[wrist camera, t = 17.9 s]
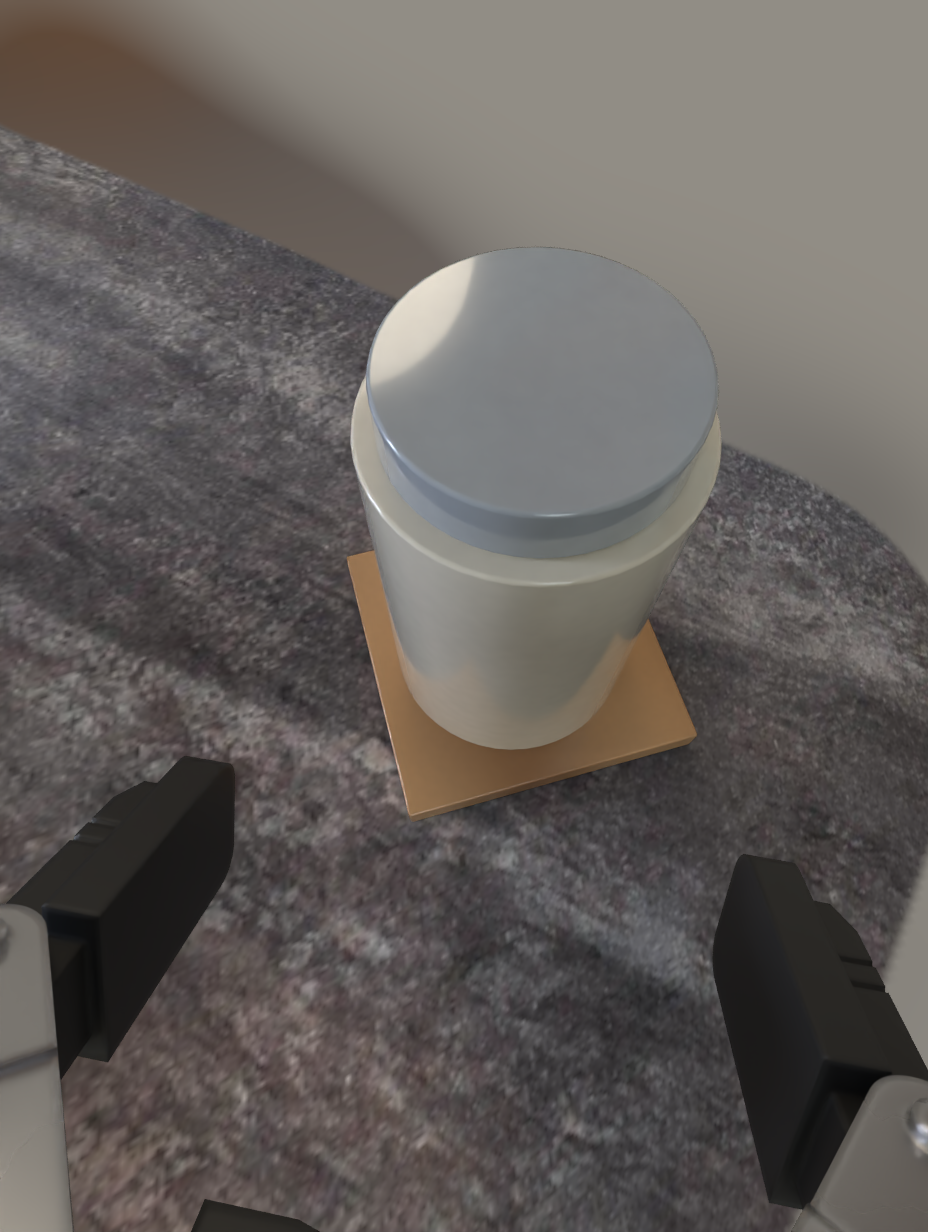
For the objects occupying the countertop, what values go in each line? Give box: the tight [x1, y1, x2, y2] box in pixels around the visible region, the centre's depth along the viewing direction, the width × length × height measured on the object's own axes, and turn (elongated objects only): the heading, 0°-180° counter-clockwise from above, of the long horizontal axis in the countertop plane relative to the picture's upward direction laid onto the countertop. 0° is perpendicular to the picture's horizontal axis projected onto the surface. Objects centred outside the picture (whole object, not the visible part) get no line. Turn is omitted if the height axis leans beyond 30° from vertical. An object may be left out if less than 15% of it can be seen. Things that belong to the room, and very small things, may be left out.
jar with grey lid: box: [350, 247, 722, 750], centre depth 16 cm, size 6×6×10 cm
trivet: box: [347, 550, 697, 822], centre depth 21 cm, size 8×8×1 cm
